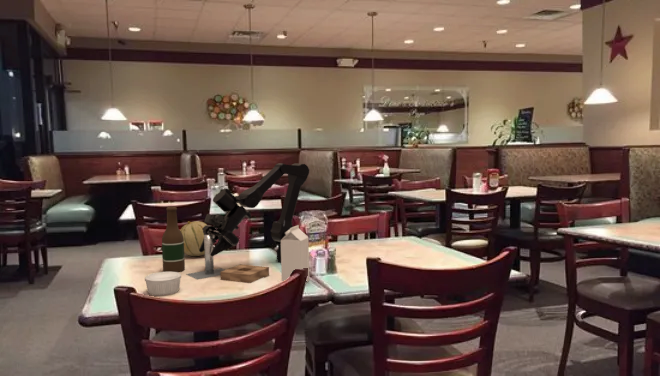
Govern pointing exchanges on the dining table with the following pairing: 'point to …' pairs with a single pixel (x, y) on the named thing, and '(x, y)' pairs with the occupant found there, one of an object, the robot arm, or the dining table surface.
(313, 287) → the dining table surface
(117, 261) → the dining table surface
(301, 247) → the milk carton
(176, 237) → the beer bottle
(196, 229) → the cantaloupe
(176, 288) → the ramekin
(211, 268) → the steel pin
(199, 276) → the rubber mat
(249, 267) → the socket block
